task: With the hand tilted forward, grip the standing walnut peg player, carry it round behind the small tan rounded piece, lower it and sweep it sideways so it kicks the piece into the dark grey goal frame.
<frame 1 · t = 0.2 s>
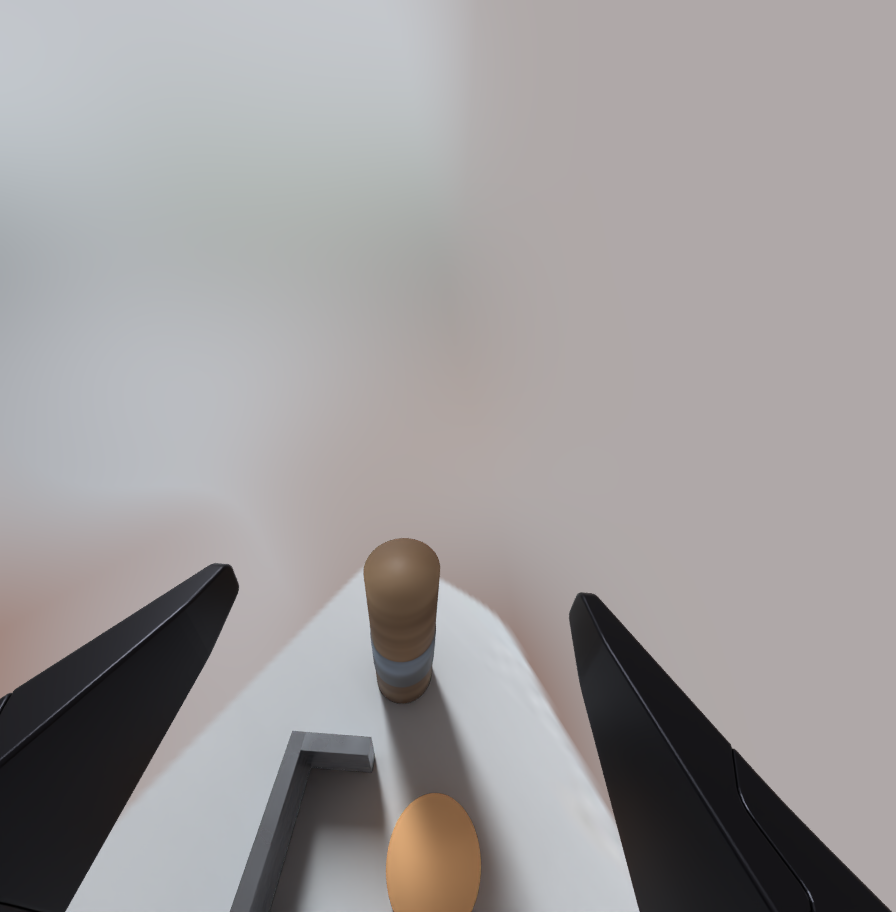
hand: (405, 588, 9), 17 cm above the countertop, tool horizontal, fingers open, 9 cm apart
goal: (313, 856, 15), on the countertop
peg player: (404, 671, 22), on the countertop
tan rounded piece: (431, 866, 15), on the countertop
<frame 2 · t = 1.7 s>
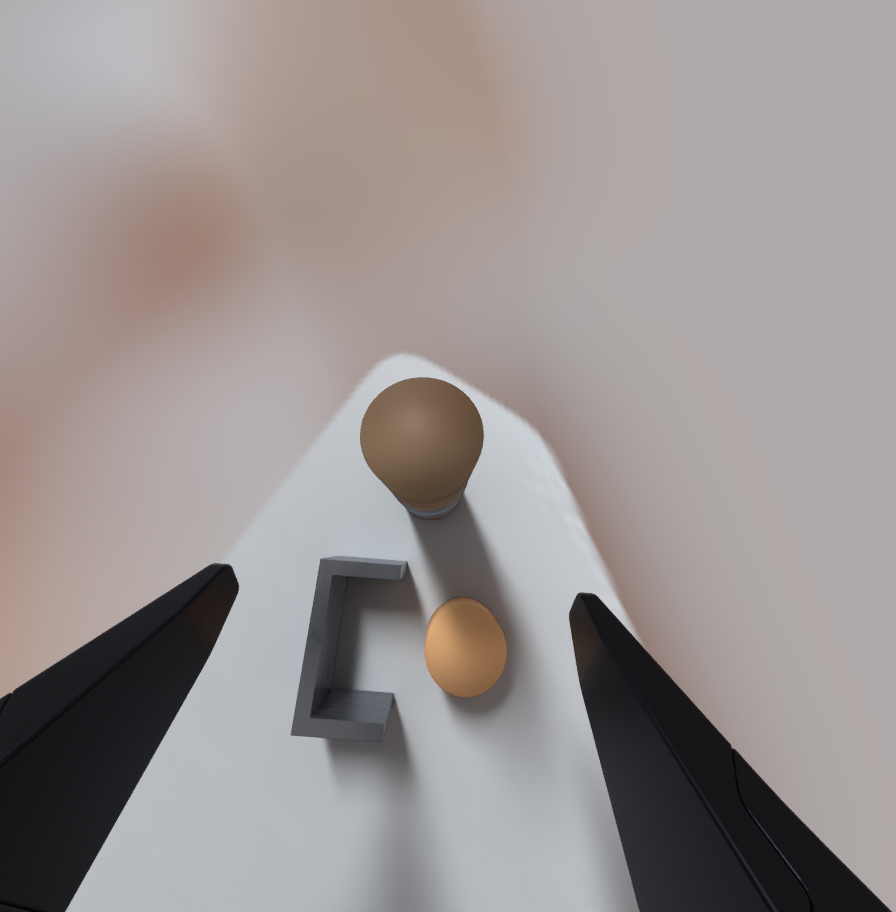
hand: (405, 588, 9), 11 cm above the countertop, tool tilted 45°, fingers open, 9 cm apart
goal: (363, 628, 18), on the countertop
peg player: (430, 489, 20), on the countertop
tan rounded piece: (462, 635, 18), on the countertop
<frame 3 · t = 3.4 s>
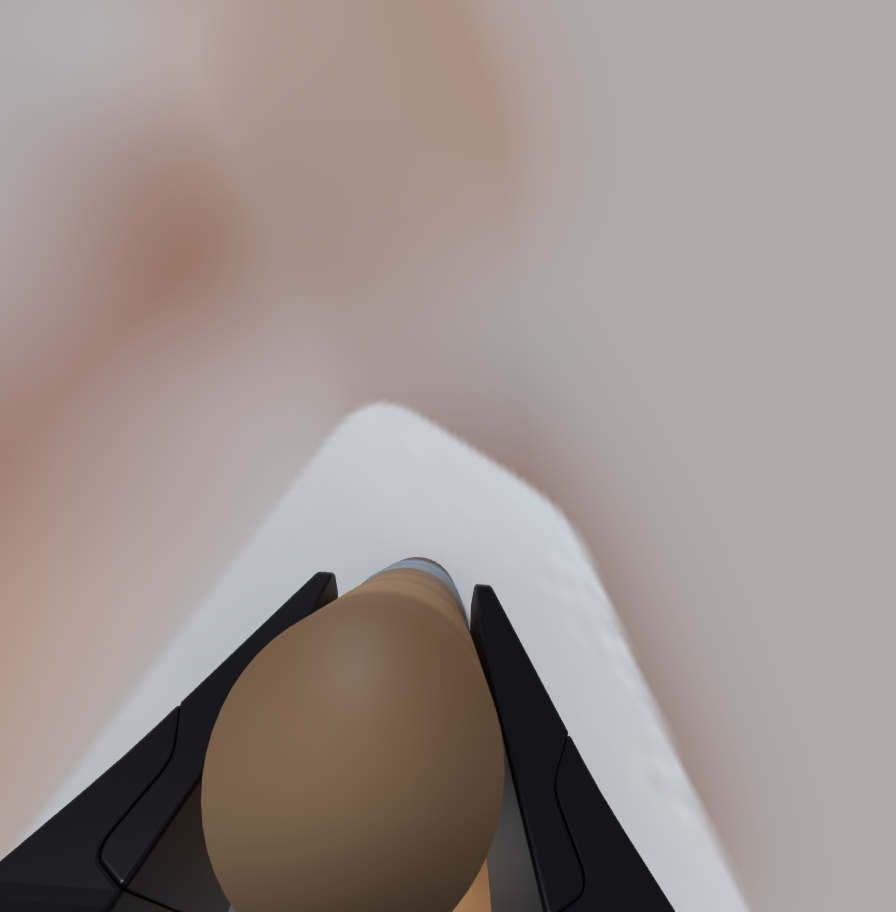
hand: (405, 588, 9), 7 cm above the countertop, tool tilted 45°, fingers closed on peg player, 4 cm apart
peg player: (416, 599, 15), on the countertop, touching gripper
tan rounded piece: (459, 823, 13), on the countertop
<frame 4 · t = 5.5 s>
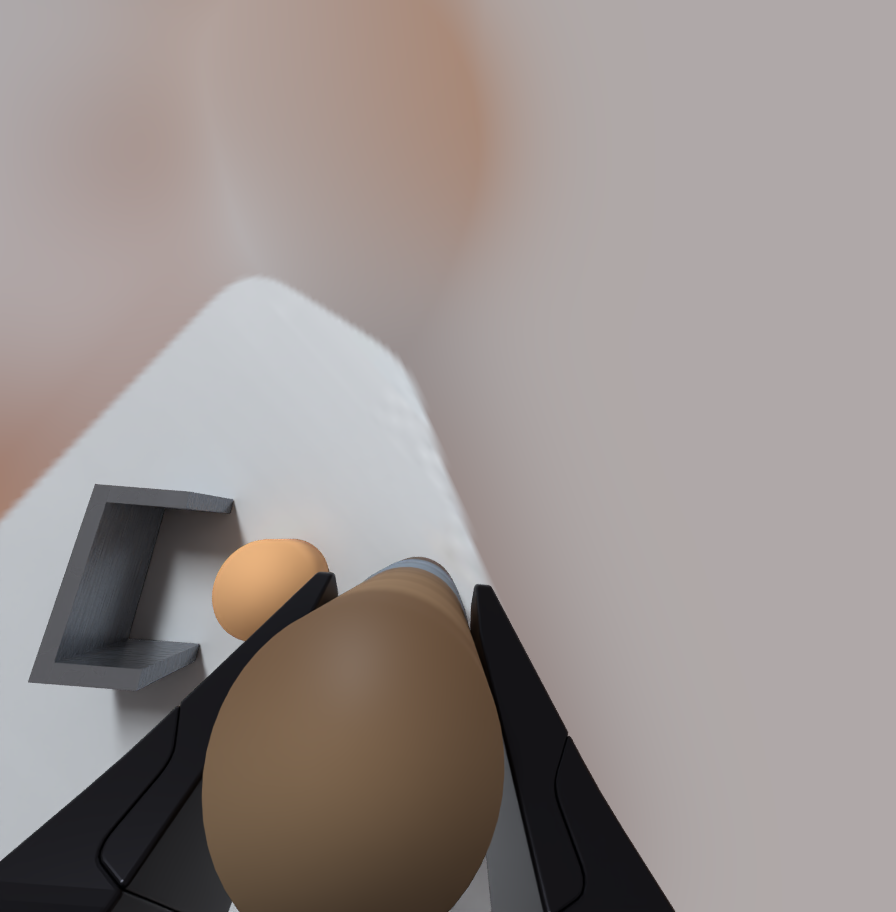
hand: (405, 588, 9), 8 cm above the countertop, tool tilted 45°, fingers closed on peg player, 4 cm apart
goal: (174, 572, 16), on the countertop
peg player: (416, 599, 15), point 1 cm above the countertop, touching gripper
tan rounded piece: (288, 581, 16), on the countertop
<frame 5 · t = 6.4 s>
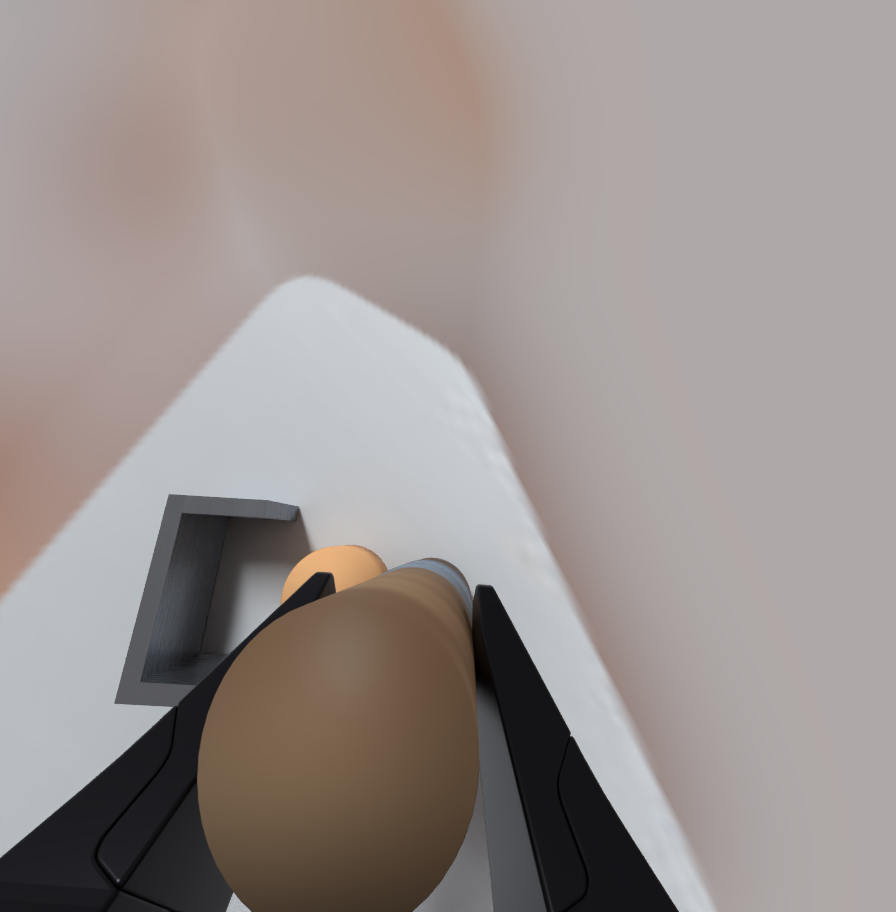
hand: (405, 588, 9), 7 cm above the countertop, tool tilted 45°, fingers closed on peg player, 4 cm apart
goal: (242, 583, 15), on the countertop
peg player: (431, 599, 15), point 1 cm above the countertop, touching gripper
tan rounded piece: (348, 588, 16), on the countertop
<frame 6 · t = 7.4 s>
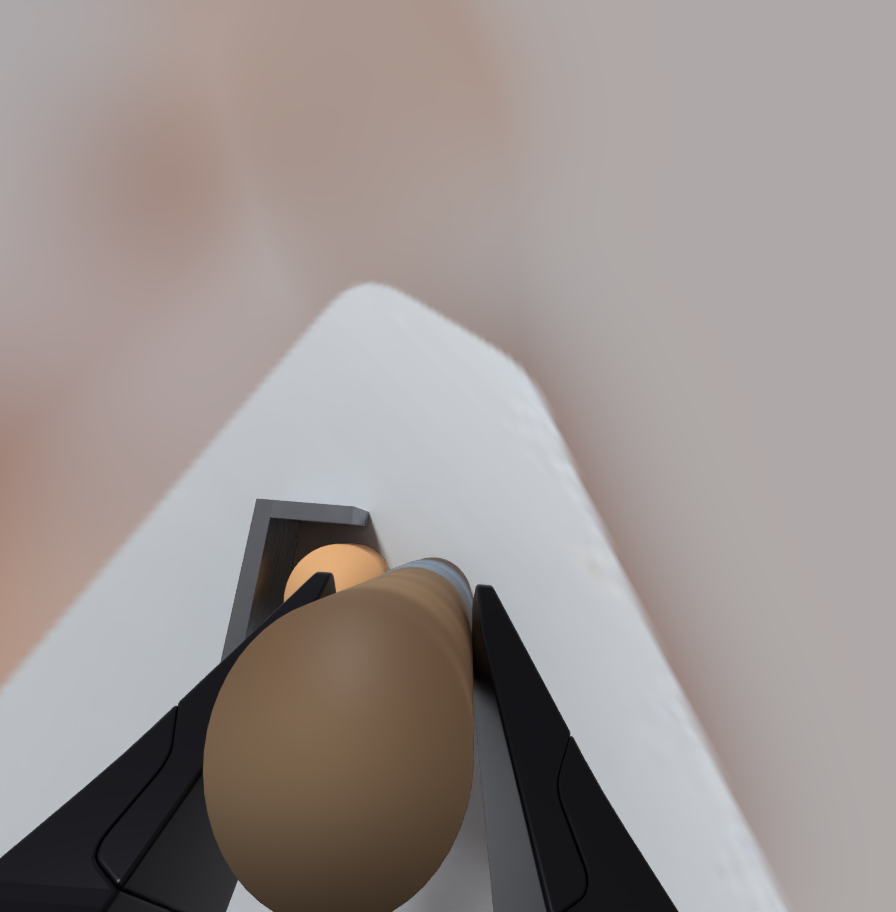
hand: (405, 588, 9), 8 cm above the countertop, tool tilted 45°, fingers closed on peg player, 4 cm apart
goal: (315, 587, 15), on the countertop
peg player: (432, 598, 15), point 1 cm above the countertop, tilted 6°, touching gripper, tan rounded piece
tan rounded piece: (350, 586, 16), on the countertop, touching peg player
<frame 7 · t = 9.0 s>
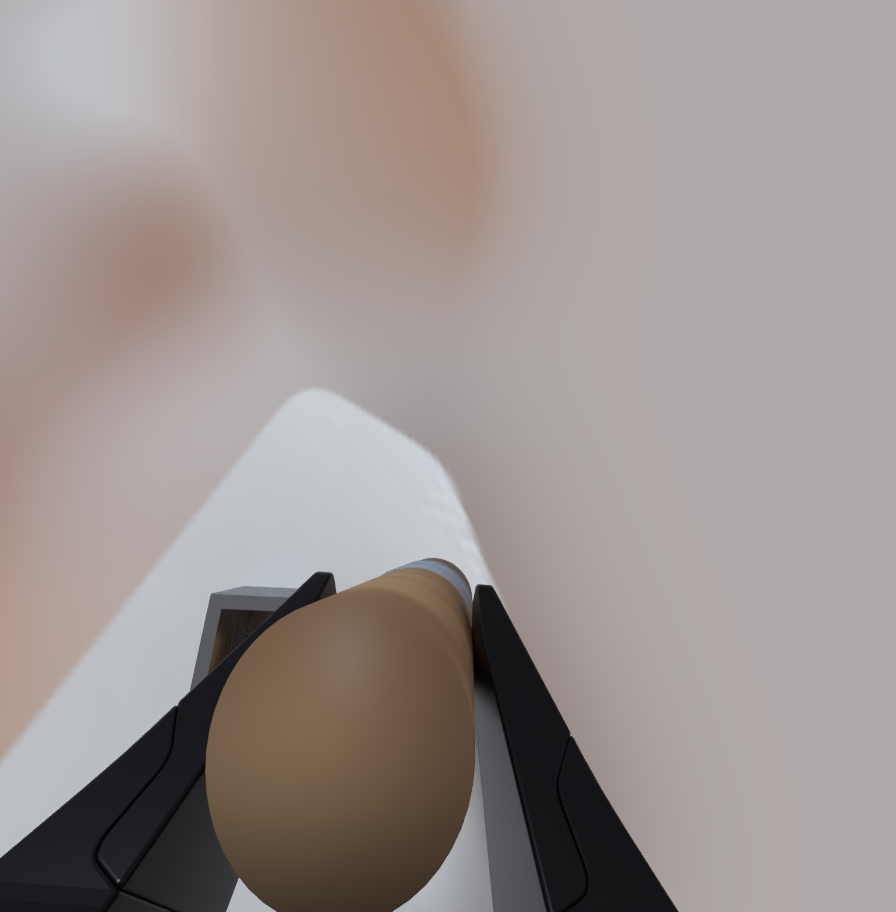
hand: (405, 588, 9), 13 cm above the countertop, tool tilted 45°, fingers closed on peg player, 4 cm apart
goal: (264, 654, 19), on the countertop
peg player: (432, 599, 15), point 6 cm above the countertop, tilted 6°, touching gripper
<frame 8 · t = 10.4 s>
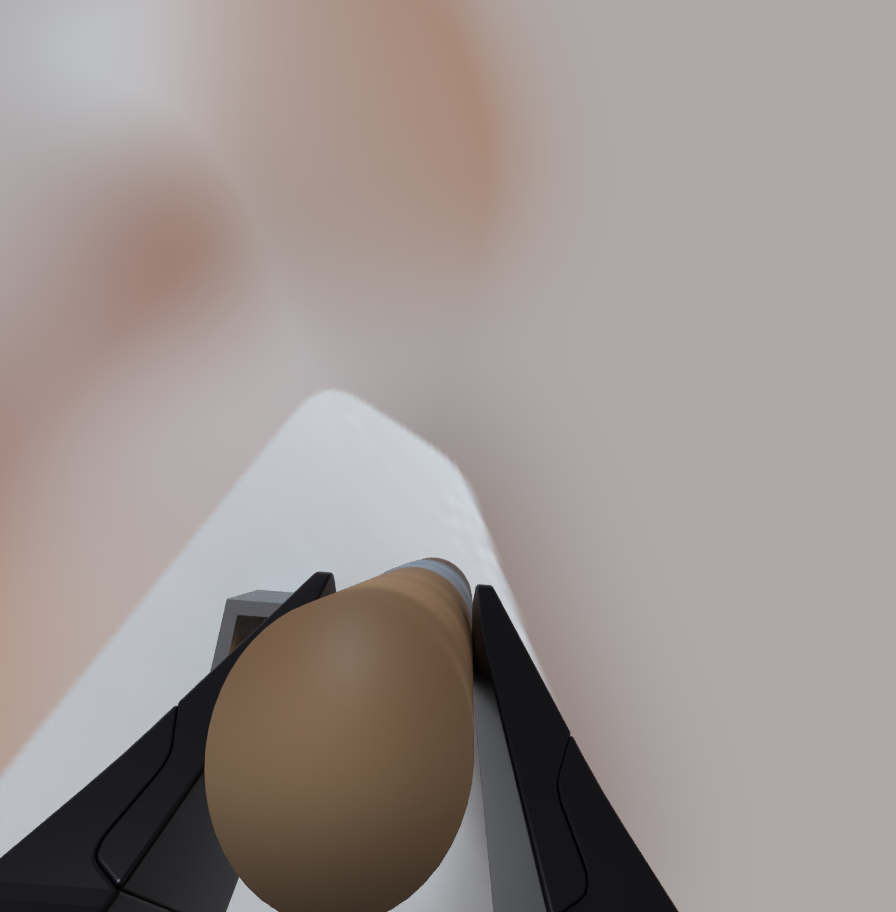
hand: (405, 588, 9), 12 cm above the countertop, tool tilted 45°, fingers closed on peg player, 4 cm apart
goal: (278, 660, 19), on the countertop
peg player: (432, 598, 15), point 6 cm above the countertop, tilted 5°, touching gripper
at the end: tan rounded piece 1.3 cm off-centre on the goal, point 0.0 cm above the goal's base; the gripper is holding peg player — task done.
